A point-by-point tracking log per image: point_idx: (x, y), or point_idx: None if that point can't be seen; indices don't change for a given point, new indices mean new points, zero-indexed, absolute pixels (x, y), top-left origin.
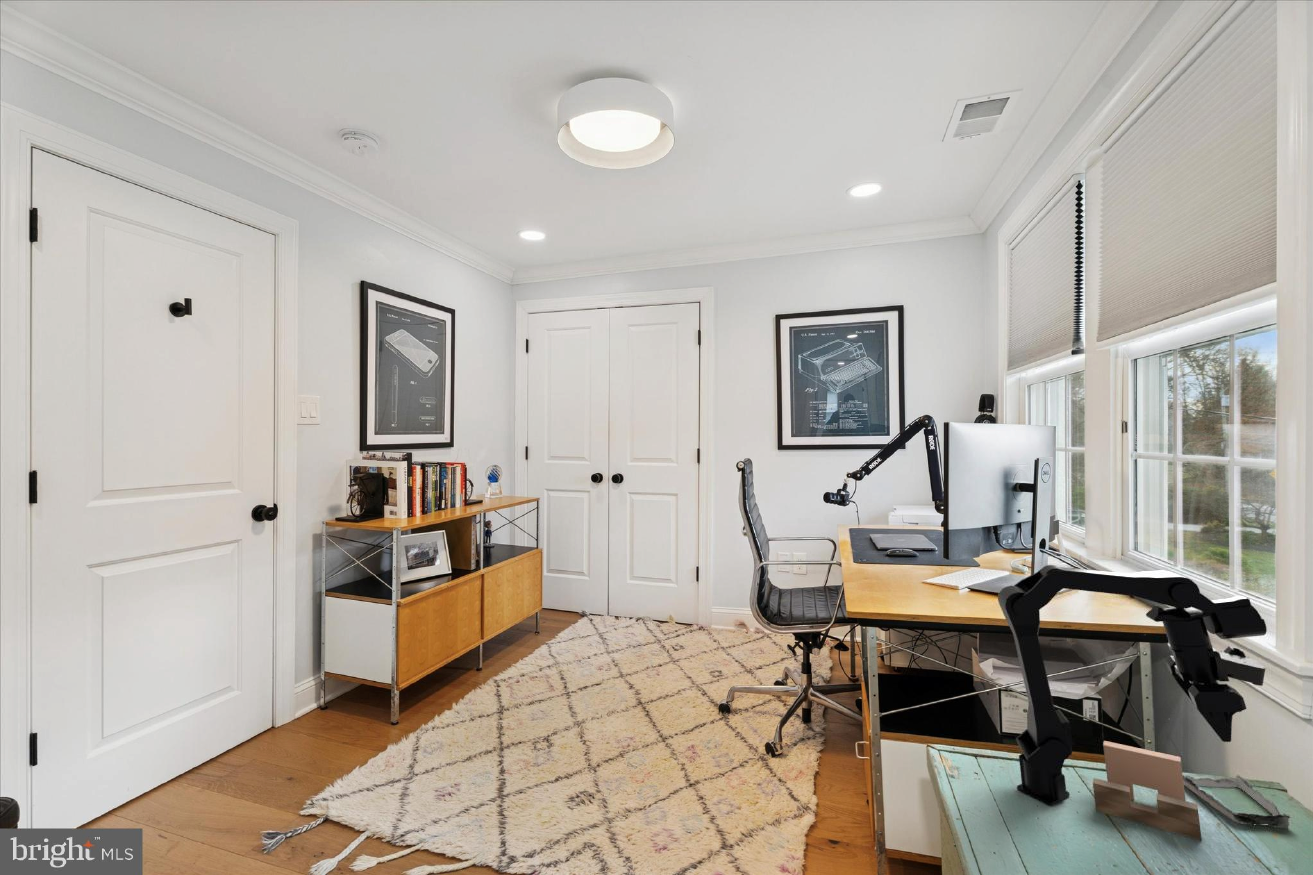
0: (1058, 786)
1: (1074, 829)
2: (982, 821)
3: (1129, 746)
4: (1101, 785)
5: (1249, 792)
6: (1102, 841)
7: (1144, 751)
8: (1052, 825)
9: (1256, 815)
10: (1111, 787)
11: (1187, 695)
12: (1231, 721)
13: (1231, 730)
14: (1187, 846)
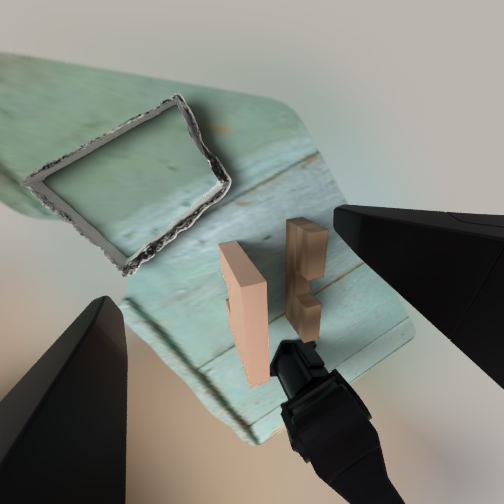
0: (317, 354)
1: (345, 312)
2: (366, 359)
3: (249, 357)
4: (318, 330)
5: (67, 161)
6: (354, 290)
7: (256, 335)
8: (347, 326)
9: (211, 152)
10: (319, 321)
11: (125, 468)
12: (482, 216)
13: (404, 209)
14: None
